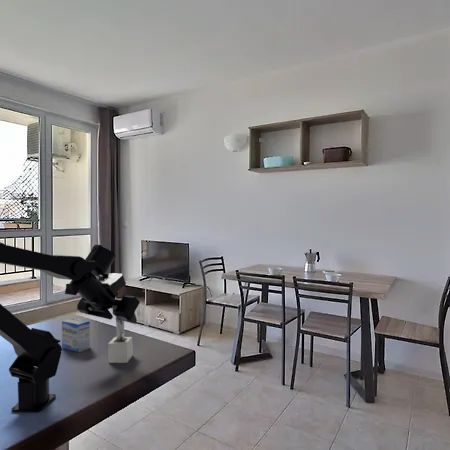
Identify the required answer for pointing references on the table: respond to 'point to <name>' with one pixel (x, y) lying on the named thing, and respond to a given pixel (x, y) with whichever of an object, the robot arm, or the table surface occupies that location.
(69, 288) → the robot arm
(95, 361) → the table surface
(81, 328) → the medicine box
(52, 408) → the table surface
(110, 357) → the press block
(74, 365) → the table surface
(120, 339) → the plunger
